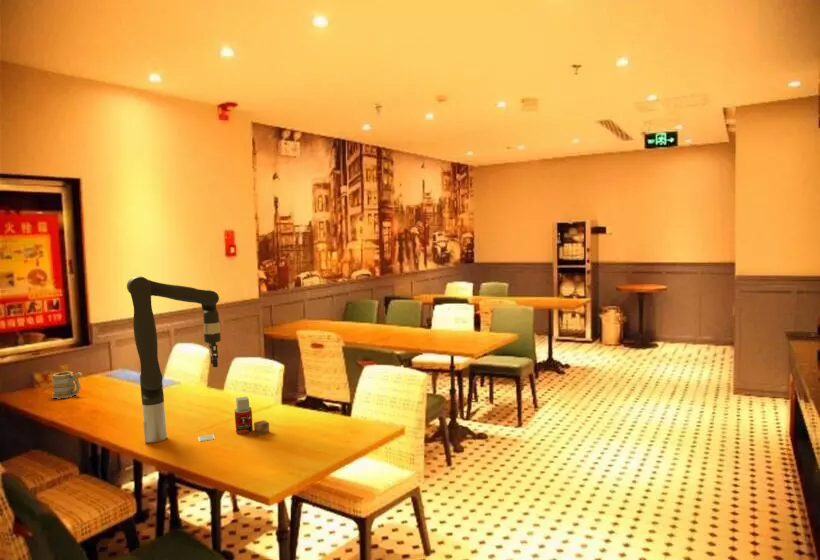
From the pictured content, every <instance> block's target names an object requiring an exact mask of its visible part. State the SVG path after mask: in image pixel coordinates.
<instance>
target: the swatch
mask: <svg viewBox="0 0 820 560" xmlns="http://www.w3.org/2000/svg"><path fill="white" fill-rule="evenodd" d="M197 439H198V442H199V443H201V441H202V442H207V440H208V441H213V439H214V440H216V438H215V435H214V434H206V435H201V436H197Z"/></svg>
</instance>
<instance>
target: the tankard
mask: <svg viewBox="0 0 820 560" xmlns="http://www.w3.org/2000/svg"><path fill="white" fill-rule="evenodd" d="M79 377H80V378H82V377H83V373H82V372H80V371H79V372H76V373H75V374H74V372H73V371H61V372H56V373H53V374H52V379H51V384H52V385H53V386H52V392H54V393H53V394H52V396H51V397H52V398H57V399H56V400H62V399H61V398H66V399H69V398H68V397H71V396H74V395H76V396H77V395H78V394H80V391H81V384H80V381H79ZM74 397H75V396H74ZM71 398H72V397H71Z"/></svg>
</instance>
